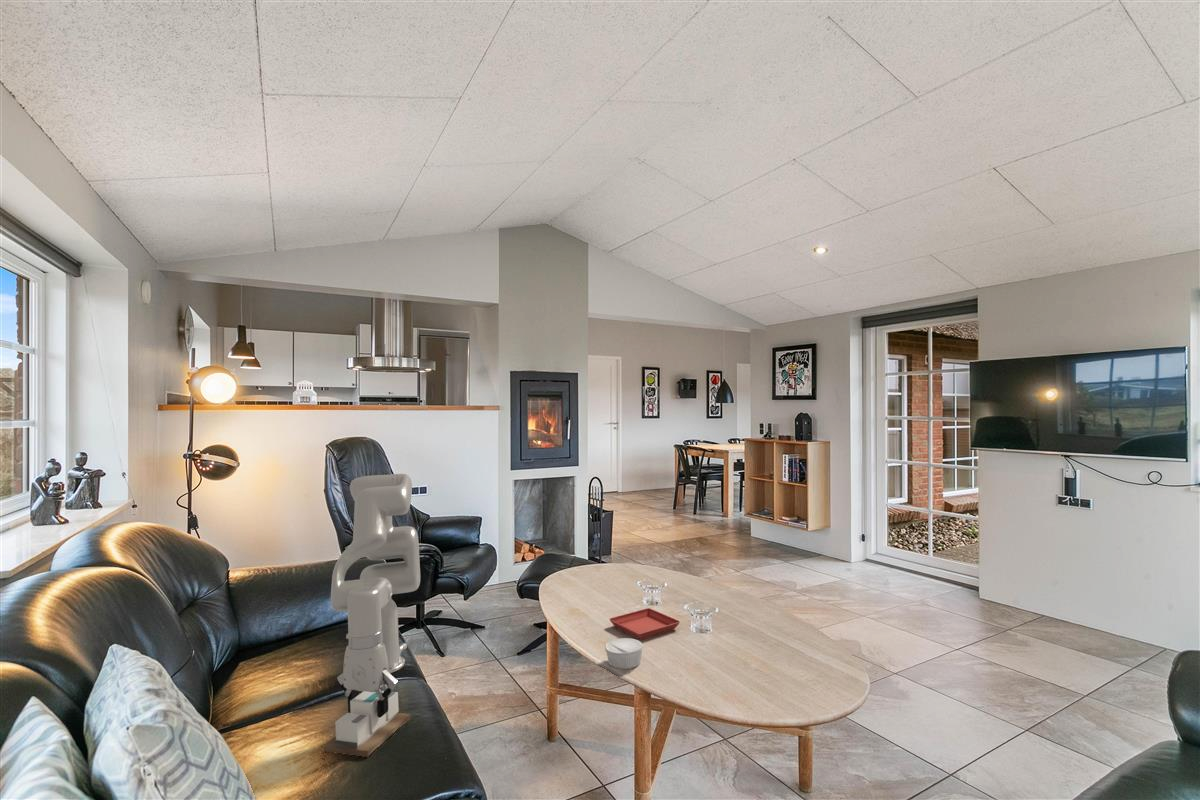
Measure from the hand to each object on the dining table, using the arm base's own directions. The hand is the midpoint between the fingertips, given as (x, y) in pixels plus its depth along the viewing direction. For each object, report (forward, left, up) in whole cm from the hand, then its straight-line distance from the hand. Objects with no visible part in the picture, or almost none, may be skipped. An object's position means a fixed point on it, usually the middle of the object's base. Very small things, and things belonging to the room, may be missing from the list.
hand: (368, 712), depth 138 cm
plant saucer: (-77, +52, -6) cm, 93 cm away
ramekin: (-50, +52, -6) cm, 72 cm away
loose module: (0, 0, -3) cm, 3 cm away
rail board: (0, 0, -6) cm, 6 cm away
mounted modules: (0, 0, -3) cm, 3 cm away
